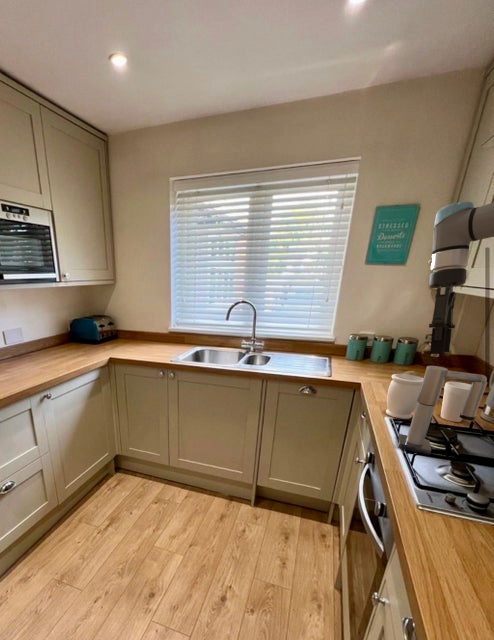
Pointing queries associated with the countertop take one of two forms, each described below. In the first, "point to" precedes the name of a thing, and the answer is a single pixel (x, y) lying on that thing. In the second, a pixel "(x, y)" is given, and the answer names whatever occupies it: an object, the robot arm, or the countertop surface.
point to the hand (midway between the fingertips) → (440, 353)
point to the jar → (403, 395)
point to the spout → (438, 374)
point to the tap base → (414, 447)
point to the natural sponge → (412, 373)
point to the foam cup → (454, 400)
